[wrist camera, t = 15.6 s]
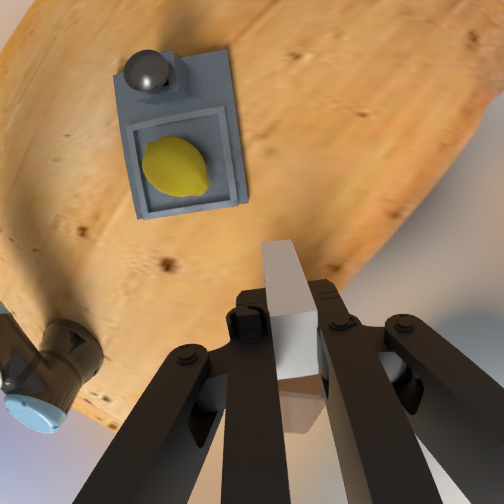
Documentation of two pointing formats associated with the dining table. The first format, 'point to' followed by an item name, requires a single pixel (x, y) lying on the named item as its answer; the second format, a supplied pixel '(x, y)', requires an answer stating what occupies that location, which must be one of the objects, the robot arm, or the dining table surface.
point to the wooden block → (300, 402)
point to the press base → (185, 132)
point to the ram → (147, 71)
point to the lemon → (175, 167)
